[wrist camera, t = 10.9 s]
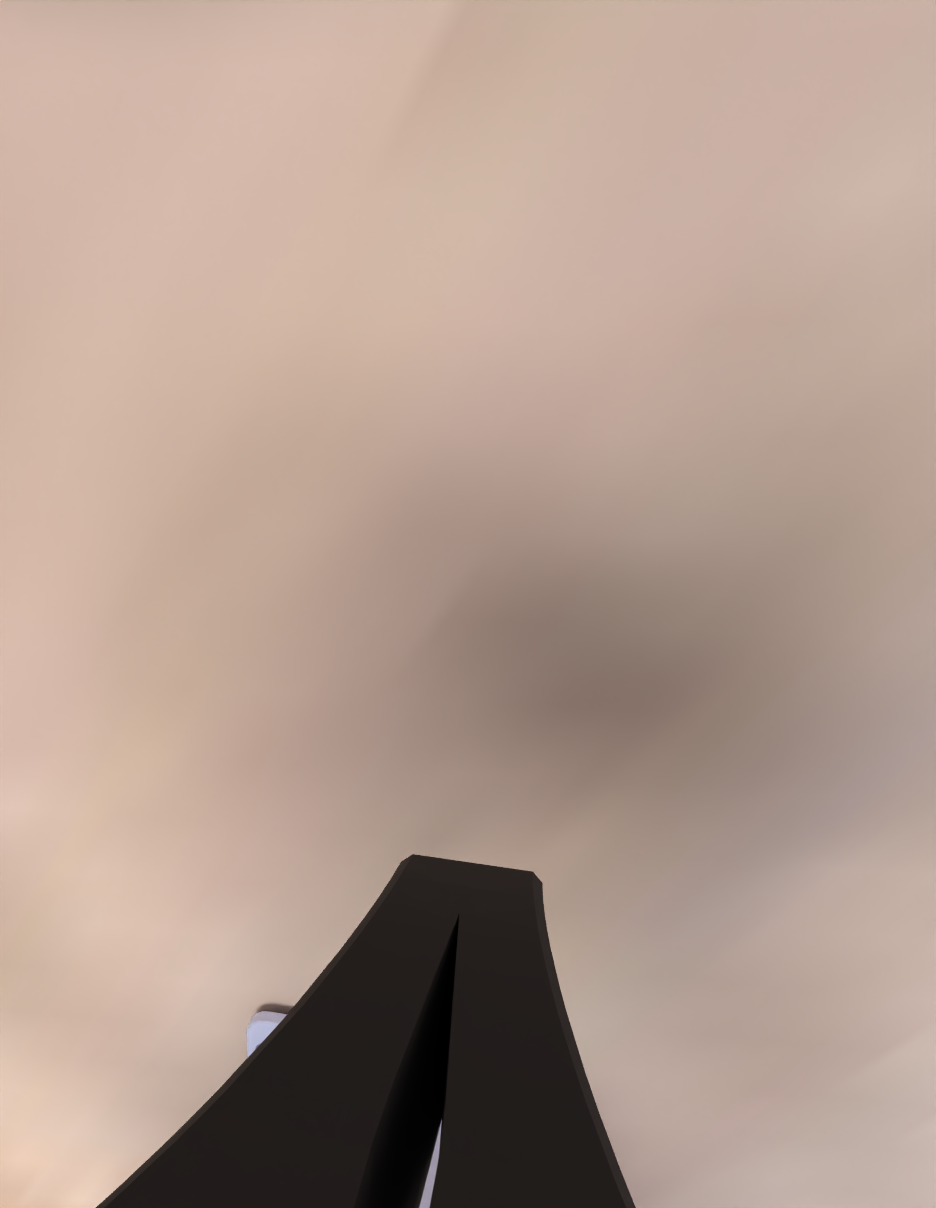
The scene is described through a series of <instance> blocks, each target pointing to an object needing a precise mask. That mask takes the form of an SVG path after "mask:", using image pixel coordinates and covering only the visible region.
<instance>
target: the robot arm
mask: <svg viewBox="0 0 936 1208" xmlns="http://www.w3.org/2000/svg"><path fill="white" fill-rule="evenodd" d="M246 1034H247V1059H246V1060H245V1061H244V1063H243V1064H242V1065H241V1066H240V1067H239V1068H238V1069H237V1070H236V1071H235V1072H234V1073H233V1075H232V1076H231V1077H230V1078H229V1079H228V1080H227V1081H226V1082H225V1083H224V1084H223V1085H222V1087H221V1088H220V1089H219V1090H218V1091H217V1092H216V1093H215V1094H214V1095H213V1096H212V1097H211V1098H210V1099H209V1100H208V1101H207V1102H206V1103H205V1104H204V1105H203V1106H202V1107H201V1108H200V1109H199V1110H198V1111H197V1112H196V1113H195V1114H194V1115H193V1116H192V1117H191V1118H190V1119H189V1120H188V1121H187V1122H186V1123H185V1124H184V1125H183V1126H182V1127H181V1128H180V1129H179V1130H178V1131H177V1132H176V1133H175V1134H174V1135H173V1136H172V1137H171V1138H170V1139H169V1140H168V1141H167V1142H166V1143H165V1144H164V1145H163V1146H162V1147H161V1148H160V1149H159V1150H158V1151H156V1152H155V1153H154V1154H153V1155H152V1156H151V1157H150V1158H149V1159H148V1160H147V1161H146V1162H145V1163H144V1164H143V1165H142V1166H141V1167H139V1168H138V1169H137V1170H136V1171H135V1172H134V1173H133V1174H132V1175H131V1176H130V1177H129V1178H128V1179H127V1180H126V1181H125V1182H124V1183H123V1184H121V1185H120V1186H119V1187H118V1188H117V1189H116V1190H115V1191H114V1192H113V1193H112V1194H111V1195H109V1196H108V1197H107V1198H106V1199H105V1200H104V1201H103V1202H102V1203H101V1204H99V1205H98V1206H97V1207H96V1208H636V1207H635V1205H634V1203H633V1200H632V1198H631V1195H630V1193H629V1190H628V1188H627V1185H626V1183H625V1180H624V1178H623V1175H622V1173H621V1170H620V1168H619V1165H618V1162H617V1160H616V1157H615V1154H614V1152H613V1149H612V1146H611V1144H610V1141H609V1138H608V1136H607V1133H606V1130H605V1128H604V1125H603V1122H602V1120H601V1117H600V1114H599V1111H598V1109H597V1106H596V1103H595V1100H594V1097H593V1094H592V1091H591V1088H590V1085H589V1082H588V1080H587V1077H586V1074H585V1071H584V1067H583V1064H582V1061H581V1058H580V1054H579V1051H578V1048H577V1045H576V1041H575V1038H574V1035H573V1032H572V1028H571V1025H570V1022H569V1019H568V1015H567V1012H566V1009H565V1005H564V1001H563V998H562V994H561V990H560V986H559V983H558V978H557V974H556V970H555V965H554V961H553V957H552V952H551V948H550V943H549V938H548V932H547V927H546V920H545V913H544V904H543V891H542V882H541V881H540V880H539V878H538V877H537V876H536V875H535V874H534V873H533V872H531V871H524V870H517V869H510V868H503V867H497V866H490V865H483V864H476V863H469V862H462V861H455V860H449V859H442V858H435V857H428V856H421V855H414V854H412V855H411V856H409V857H408V858H406V859H405V860H403V861H402V862H401V863H400V865H399V866H398V868H397V870H396V871H395V873H394V875H393V876H392V878H391V880H390V881H389V883H388V884H387V886H386V887H385V889H384V890H383V892H382V893H381V895H380V896H379V898H378V899H377V901H376V902H375V904H374V905H373V906H372V908H371V909H370V911H369V912H368V913H367V915H366V916H365V918H364V919H363V920H362V922H361V923H360V924H359V926H358V927H357V928H356V930H355V931H354V932H353V934H352V935H351V936H350V938H349V939H348V940H347V942H346V943H345V944H344V946H343V947H342V948H341V950H340V951H339V952H338V953H337V955H336V956H335V957H334V958H333V959H332V961H331V962H330V963H329V964H328V966H327V967H326V968H325V969H324V970H323V972H322V973H321V974H320V975H319V977H318V978H317V979H316V980H315V981H314V983H313V984H312V985H311V986H310V988H309V989H308V990H307V991H306V993H305V994H304V995H303V996H302V997H301V999H300V1000H299V1001H298V1002H297V1004H296V1005H295V1006H294V1007H293V1008H292V1009H291V1011H290V1012H289V1013H288V1014H282V1013H276V1012H270V1011H262V1012H259V1013H256V1014H255V1015H254V1016H253V1017H252V1018H251V1021H250V1023H249V1025H248V1028H247V1032H246Z"/></svg>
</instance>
